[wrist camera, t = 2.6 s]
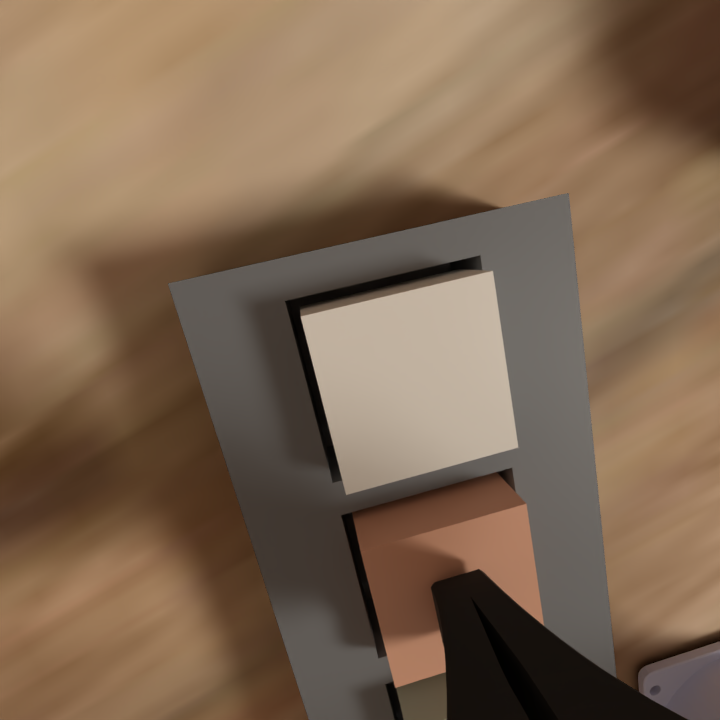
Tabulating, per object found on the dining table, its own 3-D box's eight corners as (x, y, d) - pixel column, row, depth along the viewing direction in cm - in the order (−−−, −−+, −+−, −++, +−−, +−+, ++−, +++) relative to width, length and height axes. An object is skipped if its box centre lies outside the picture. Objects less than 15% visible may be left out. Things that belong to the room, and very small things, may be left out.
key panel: (567, 666, 19) (623, 751, 16) (339, 739, 18) (349, 845, 15) (506, 208, 14) (568, 193, 11) (199, 278, 14) (167, 283, 10)
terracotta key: (509, 584, 15) (546, 640, 12) (380, 624, 14) (395, 688, 12) (490, 465, 14) (526, 503, 11) (349, 504, 13) (360, 551, 11)
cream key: (482, 417, 13) (518, 447, 11) (337, 456, 13) (345, 494, 11) (458, 269, 12) (493, 271, 10) (300, 306, 12) (300, 316, 10)
